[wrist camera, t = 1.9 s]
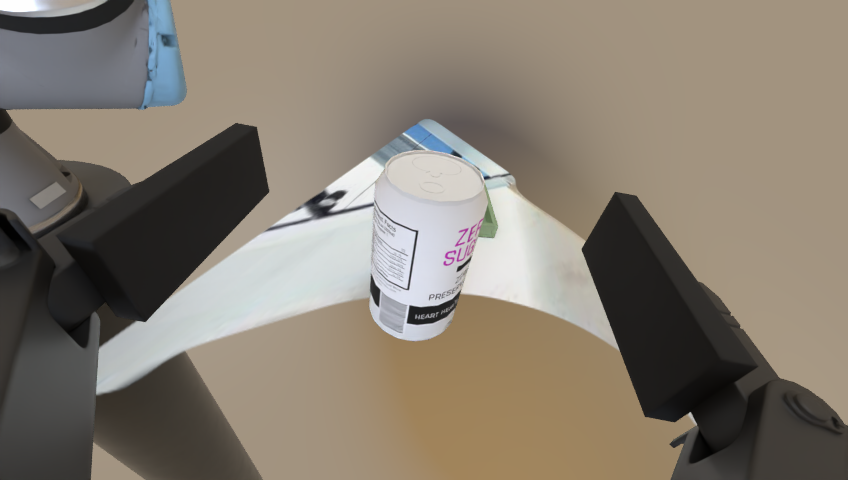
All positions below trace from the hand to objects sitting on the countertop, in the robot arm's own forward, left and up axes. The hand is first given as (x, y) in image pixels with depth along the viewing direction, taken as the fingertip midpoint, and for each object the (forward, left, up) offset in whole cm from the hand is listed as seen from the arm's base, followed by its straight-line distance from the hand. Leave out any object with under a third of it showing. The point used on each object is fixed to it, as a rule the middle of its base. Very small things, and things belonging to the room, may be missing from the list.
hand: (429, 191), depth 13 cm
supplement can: (+1, +10, -20) cm, 22 cm away
